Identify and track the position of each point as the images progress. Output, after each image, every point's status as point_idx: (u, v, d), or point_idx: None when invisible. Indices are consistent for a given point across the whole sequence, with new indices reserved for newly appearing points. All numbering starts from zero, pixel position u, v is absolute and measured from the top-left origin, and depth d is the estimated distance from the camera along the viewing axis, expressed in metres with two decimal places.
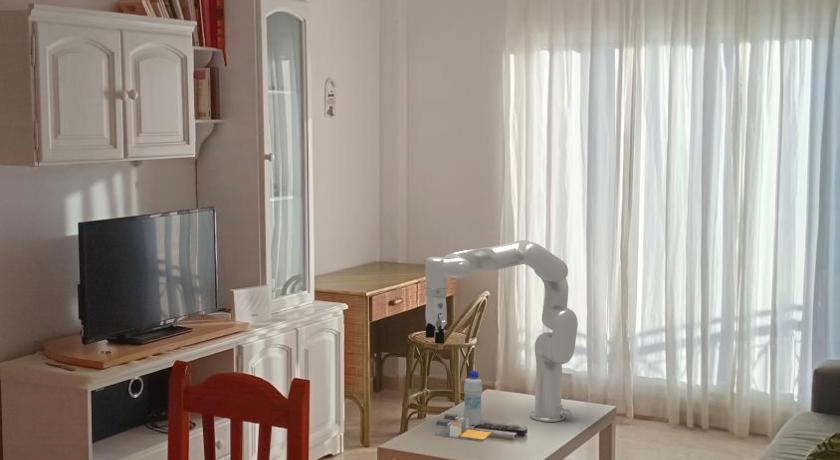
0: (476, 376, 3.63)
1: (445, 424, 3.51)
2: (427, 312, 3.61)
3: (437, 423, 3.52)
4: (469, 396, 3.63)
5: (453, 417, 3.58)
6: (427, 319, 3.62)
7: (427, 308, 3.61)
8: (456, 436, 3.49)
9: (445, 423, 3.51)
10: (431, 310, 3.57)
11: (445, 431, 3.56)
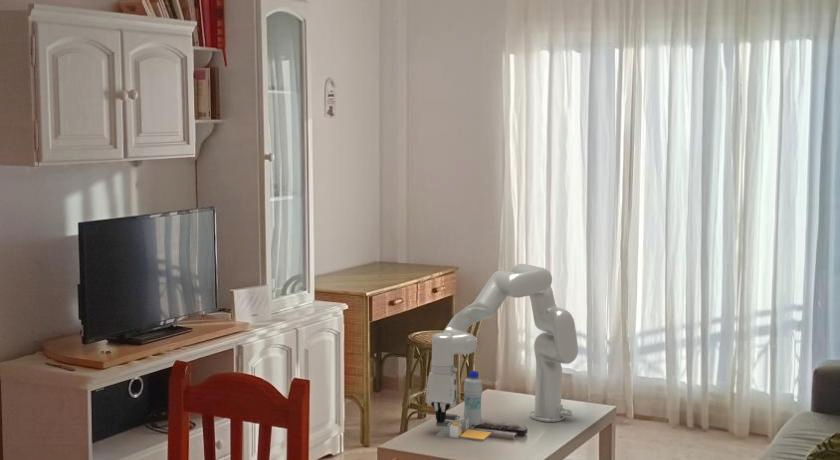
0: (476, 376, 3.63)
1: (445, 424, 3.51)
2: (435, 391, 3.50)
3: (437, 424, 3.52)
4: (469, 396, 3.63)
5: (453, 417, 3.58)
6: (433, 398, 3.50)
7: (435, 387, 3.49)
8: (456, 436, 3.49)
9: (445, 423, 3.51)
10: (446, 388, 3.48)
11: (445, 431, 3.56)
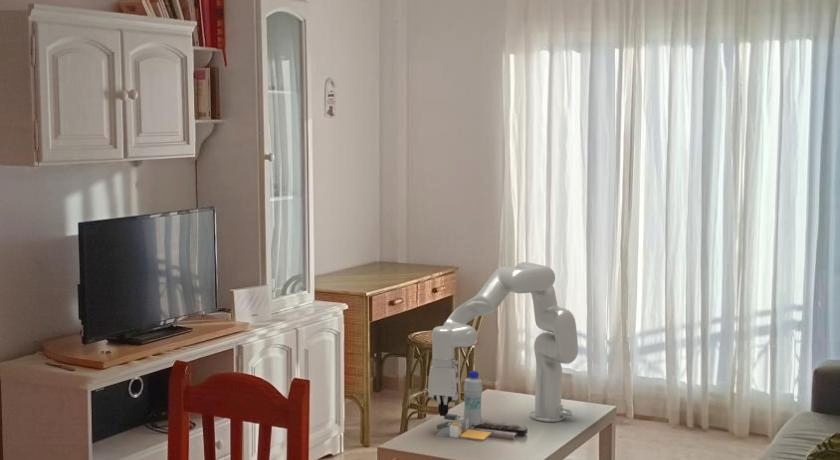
0: (476, 376, 3.63)
1: (445, 425, 3.51)
2: (436, 385, 3.50)
3: (438, 427, 3.52)
4: (469, 395, 3.63)
5: (453, 417, 3.58)
6: (435, 392, 3.50)
7: (436, 381, 3.49)
8: (456, 436, 3.49)
9: (445, 424, 3.51)
10: (448, 382, 3.48)
11: (445, 431, 3.56)
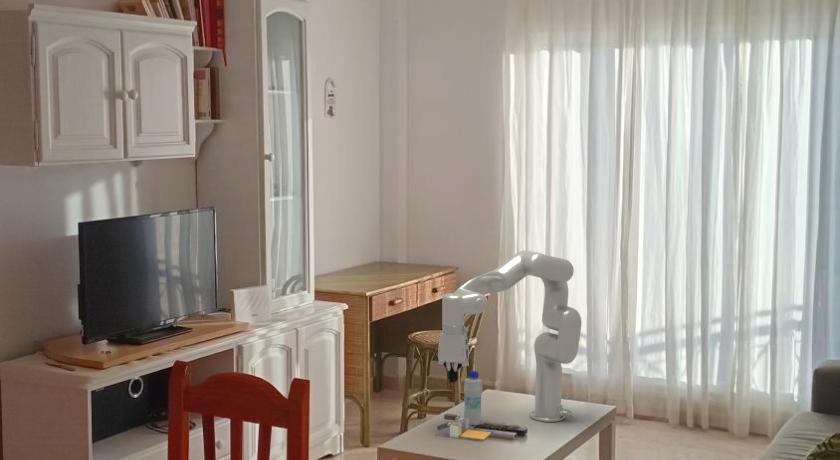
0: (476, 376, 3.63)
1: (445, 425, 3.51)
2: (446, 351, 3.52)
3: (438, 428, 3.52)
4: (469, 396, 3.63)
5: (453, 417, 3.58)
6: (445, 358, 3.53)
7: (446, 347, 3.52)
8: (456, 436, 3.49)
9: (445, 424, 3.51)
10: (457, 348, 3.51)
11: (445, 431, 3.56)
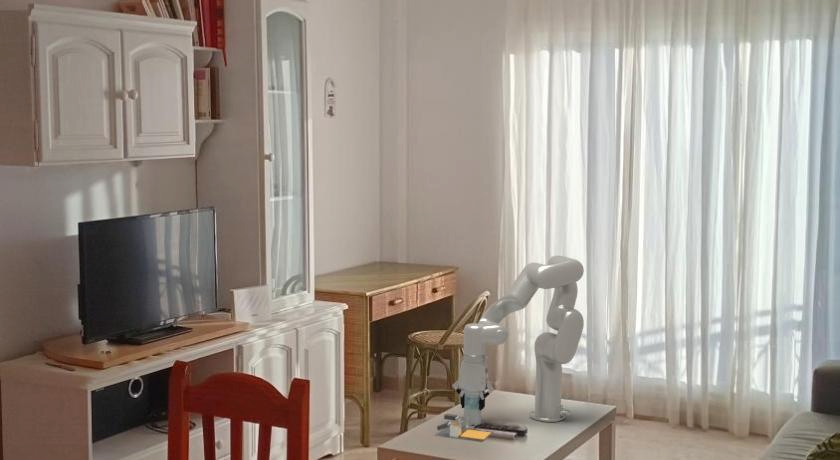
0: None
1: (445, 425, 3.51)
2: (467, 380, 3.63)
3: (438, 428, 3.52)
4: (469, 395, 3.63)
5: (453, 417, 3.58)
6: None
7: (467, 376, 3.63)
8: (456, 436, 3.49)
9: (445, 425, 3.51)
10: (478, 377, 3.62)
11: (445, 431, 3.56)
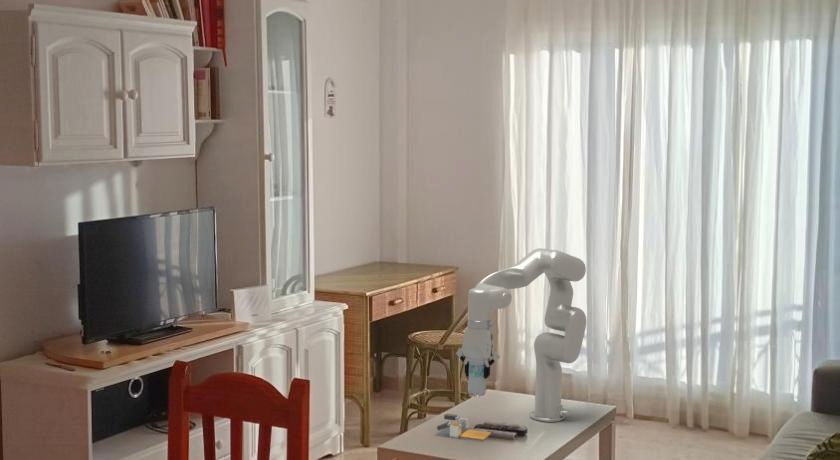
0: None
1: (445, 425, 3.51)
2: (471, 346, 3.48)
3: (438, 428, 3.52)
4: (474, 363, 3.48)
5: (453, 417, 3.58)
6: None
7: (471, 342, 3.48)
8: (456, 436, 3.49)
9: (445, 425, 3.51)
10: (482, 343, 3.46)
11: (445, 431, 3.56)
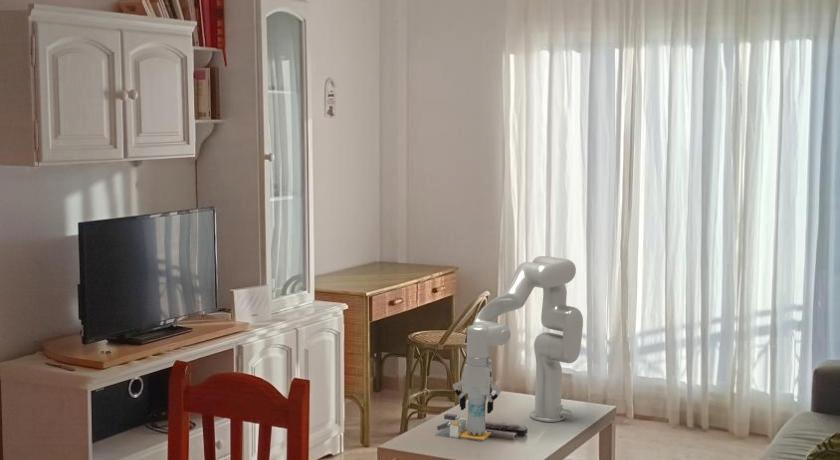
0: None
1: (445, 425, 3.51)
2: (470, 383, 3.49)
3: (438, 428, 3.52)
4: (473, 403, 3.49)
5: (453, 417, 3.58)
6: None
7: (470, 379, 3.49)
8: (456, 436, 3.49)
9: (445, 425, 3.51)
10: (482, 380, 3.47)
11: (445, 431, 3.56)
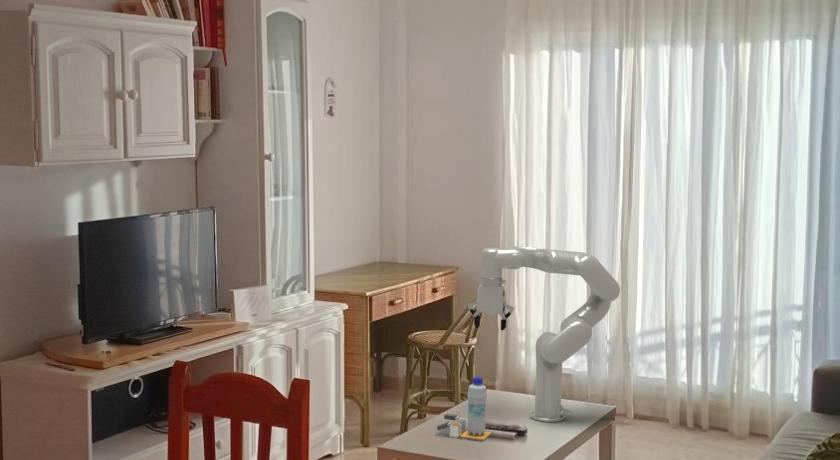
0: (480, 382, 3.49)
1: (445, 425, 3.51)
2: (484, 302, 3.71)
3: (438, 428, 3.52)
4: (473, 402, 3.49)
5: (453, 417, 3.58)
6: (483, 309, 3.72)
7: (485, 298, 3.71)
8: (456, 436, 3.49)
9: (445, 425, 3.51)
10: (495, 299, 3.70)
11: (445, 431, 3.56)
